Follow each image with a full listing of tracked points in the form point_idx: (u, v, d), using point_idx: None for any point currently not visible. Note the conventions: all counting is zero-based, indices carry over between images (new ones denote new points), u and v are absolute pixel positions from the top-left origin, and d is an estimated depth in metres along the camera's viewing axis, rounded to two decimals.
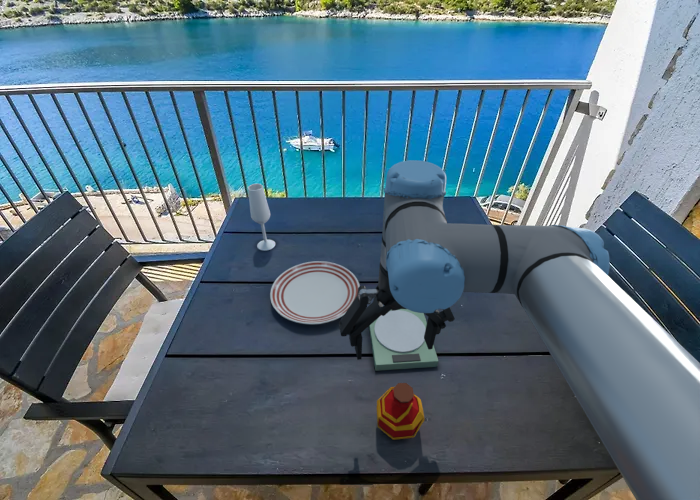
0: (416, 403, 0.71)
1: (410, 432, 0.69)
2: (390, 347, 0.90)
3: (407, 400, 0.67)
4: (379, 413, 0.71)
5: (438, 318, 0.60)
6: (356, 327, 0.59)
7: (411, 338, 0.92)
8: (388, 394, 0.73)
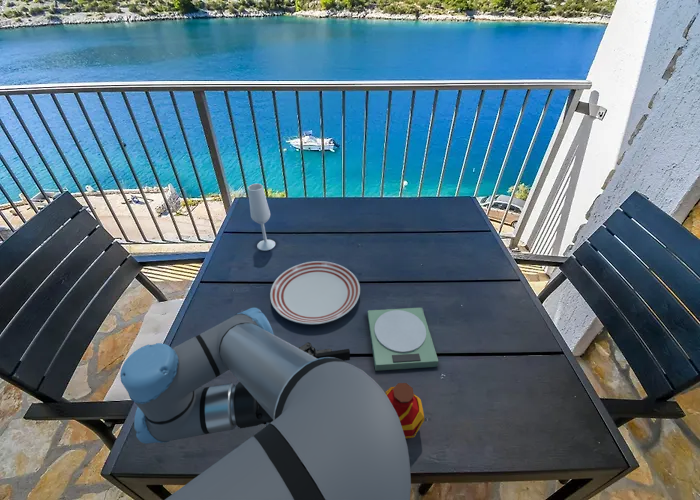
0: (416, 403, 0.71)
1: (410, 432, 0.69)
2: (390, 347, 0.90)
3: (407, 400, 0.67)
4: None
5: None
6: None
7: (411, 338, 0.92)
8: (388, 394, 0.73)
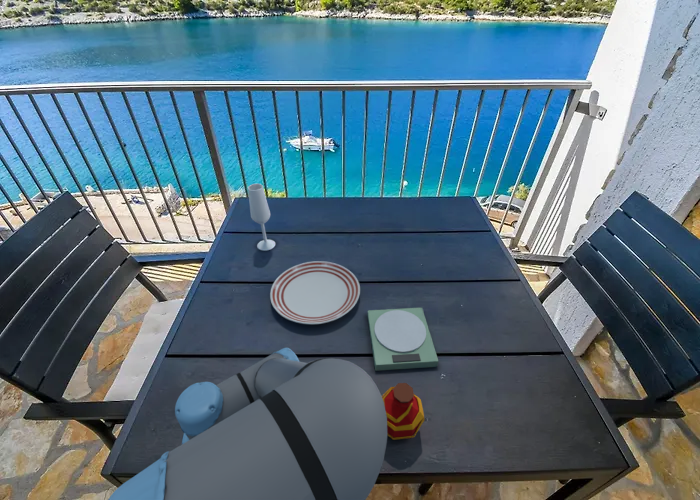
0: (416, 403, 0.71)
1: (410, 432, 0.69)
2: (390, 347, 0.90)
3: (407, 400, 0.67)
4: None
5: None
6: None
7: (411, 338, 0.92)
8: (388, 394, 0.73)
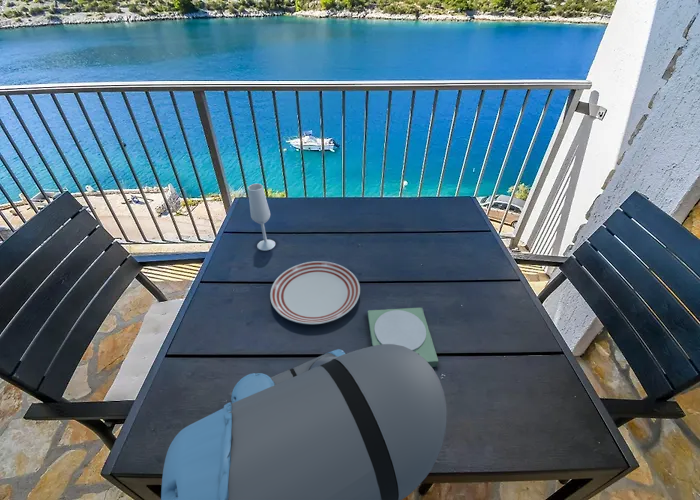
0: None
1: None
2: None
3: None
4: None
5: None
6: None
7: (411, 338, 0.92)
8: None
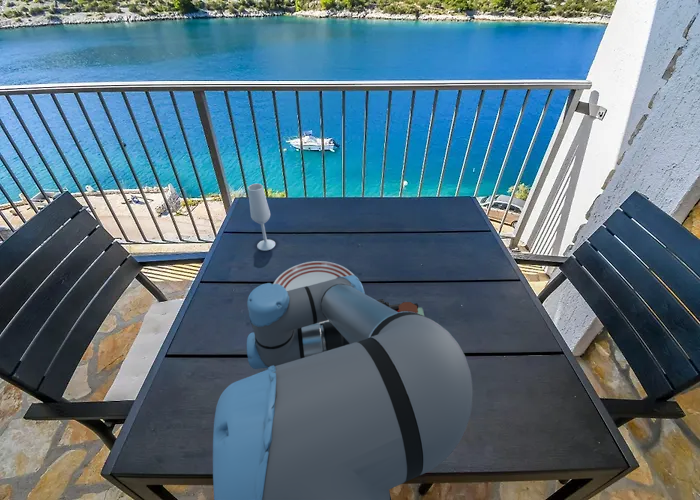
0: None
1: None
2: None
3: None
4: None
5: None
6: None
7: None
8: None
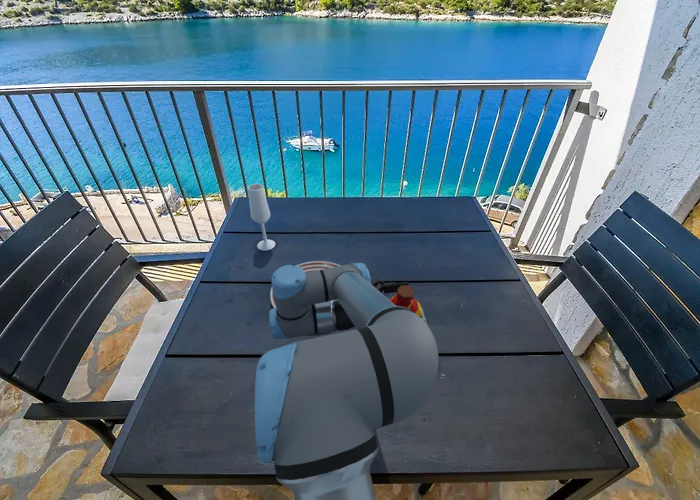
0: (416, 304, 0.89)
1: None
2: None
3: (408, 296, 0.84)
4: None
5: (376, 286, 0.93)
6: None
7: None
8: (393, 298, 0.90)
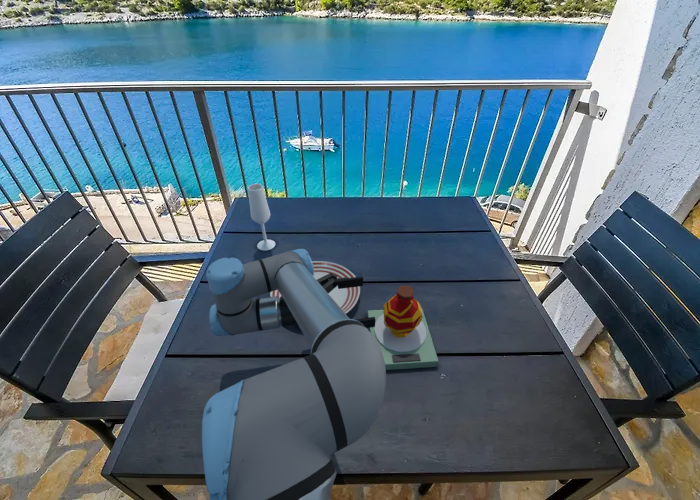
0: (416, 304, 0.89)
1: (410, 324, 0.86)
2: (390, 347, 0.90)
3: (408, 296, 0.84)
4: (386, 311, 0.88)
5: (329, 281, 0.88)
6: None
7: (411, 338, 0.92)
8: (393, 298, 0.90)
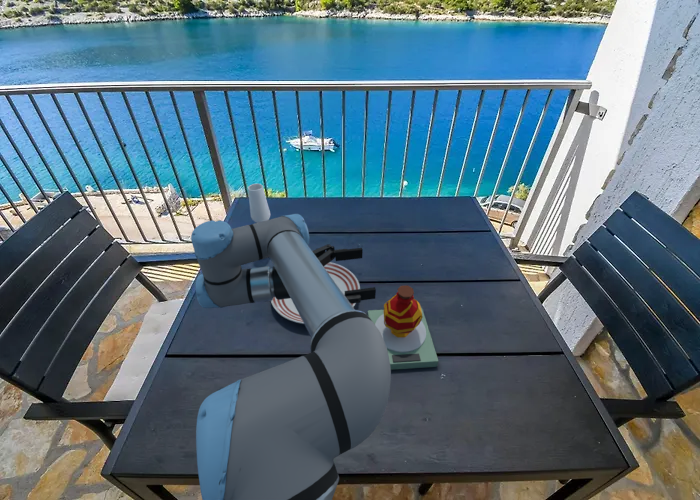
0: (416, 304, 0.89)
1: (410, 324, 0.86)
2: (390, 347, 0.90)
3: (408, 296, 0.84)
4: (386, 311, 0.88)
5: (326, 252, 0.82)
6: None
7: (411, 338, 0.92)
8: (393, 298, 0.90)
